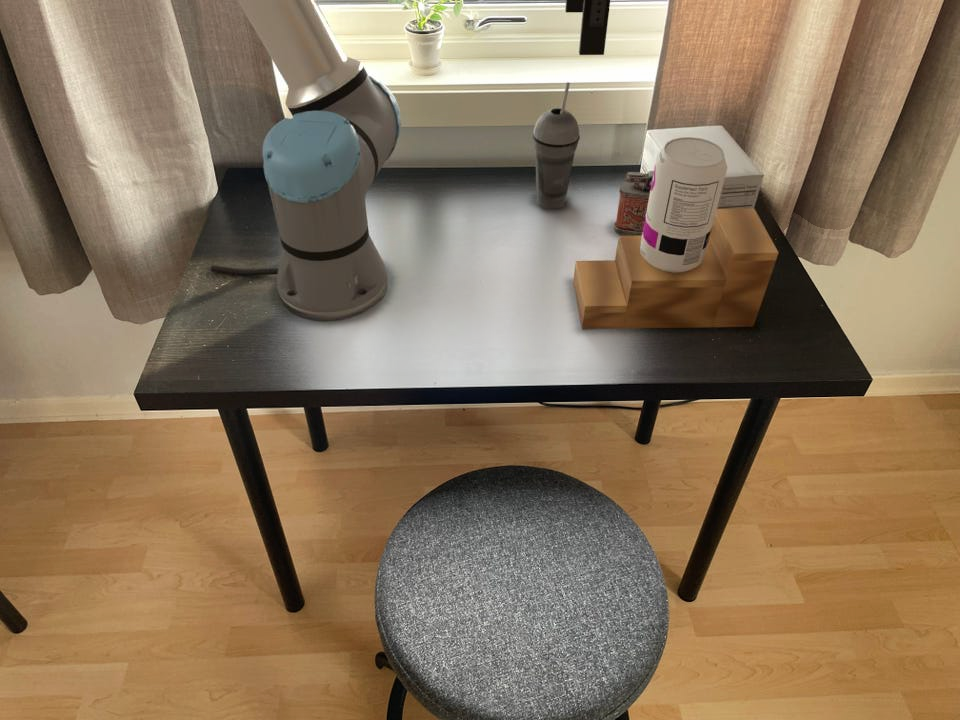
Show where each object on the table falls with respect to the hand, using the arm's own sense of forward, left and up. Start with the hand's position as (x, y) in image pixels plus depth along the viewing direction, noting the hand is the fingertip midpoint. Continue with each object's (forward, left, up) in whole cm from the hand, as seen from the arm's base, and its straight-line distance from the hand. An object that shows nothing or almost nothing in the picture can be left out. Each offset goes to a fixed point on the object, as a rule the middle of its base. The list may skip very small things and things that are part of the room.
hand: (583, 31), depth 87 cm
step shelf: (+13, -11, -33) cm, 37 cm away
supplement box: (+23, +15, -33) cm, 43 cm away
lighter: (+13, +7, -33) cm, 36 cm away
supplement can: (+13, -11, -25) cm, 30 cm away
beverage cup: (0, +16, -33) cm, 37 cm away
